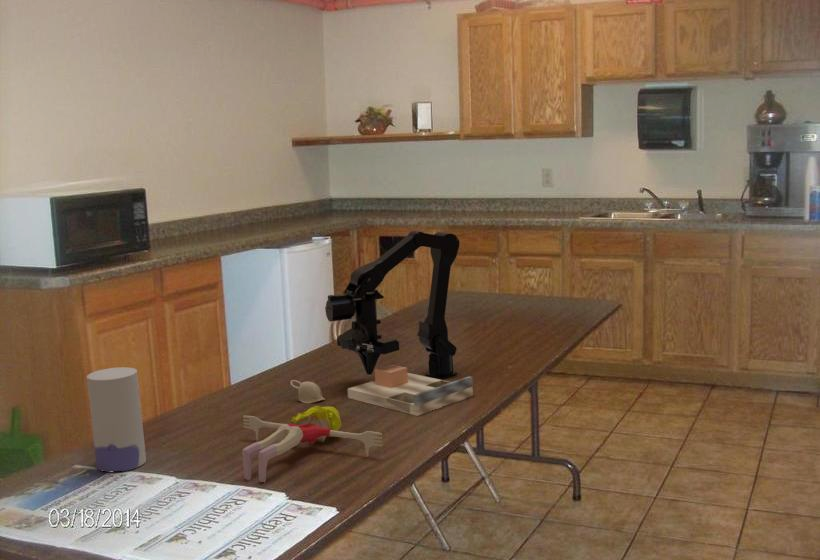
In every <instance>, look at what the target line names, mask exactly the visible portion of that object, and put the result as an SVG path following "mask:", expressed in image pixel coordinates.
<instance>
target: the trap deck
mask: <svg viewBox="0 0 820 560" xmlns="http://www.w3.org/2000/svg"><path fill="white" fill-rule="evenodd" d="M473 389H474V387H473V376H466V377H463V378H460V379H457V380H454V381H449V380H443V379H440V378H435V377H430V376H426V375H420V374H416V373H410V372H408V383H406V384H403V385H399V386H396V387H393V388H389V387H385V386H380V385H376V384H375V379H374V380H371V381H369V382H368V381H367V382H365V383H362V384H358V385H354V386H351V387H349V388H347V399H351V400H354V401H358V402H362V403H365V404H369V405H374V406H378V407H382V408H385V409H389V410H393V411H397V412H400V413H406V414H409V415H412V416H417V417H419V416H421V415H424V414H428V413H429V412H433V411H436V410H438V409H441V408H444V407H446V406H449V405H452V404H454V403H457V402H460V401H464V400H466V399H468V398H472V397H473V395H474V392H473ZM443 406H444V407H443ZM435 409H436V410H435ZM432 410H433V411H432Z"/></svg>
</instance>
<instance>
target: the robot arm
mask: <svg viewBox="0 0 820 560" xmlns="http://www.w3.org/2000/svg"><path fill="white" fill-rule="evenodd" d="M460 244H461V243H460V238H459V237H458V236H456V234H454V233H450V232H444V231H438V232H435V233H434V234H433V233H432V234H431V233H426V232H423V231H419V230H412V231H410V232H409V233H408V234H407V235H406V236H404V238H402V239H401V240H399V241H398V242H397V243H396V244H394V245H393V246H392V247H391V248H390V249H389V250H387V251H386V252H385V253H383V254H381V256H380V257H379V258H377V259H375V260H374V261H372V262H369V263H366V264H364V265H362V266H360V267H358V268H357V269H355V270H353V271H352V272H351V274H350V279H349V280H350V281H349V282H348V284H347V286H346V287H345V289H344V291H343V293H341V294H328V295H327V300H326V303H325V306H324V308H325V314H326V315H325V316H326V319H327V321H328V322H337V321H344V320H347V321H348V320H351V319H352V318H353V317H354V318H355V320H353V321H352V322H351V328H350V329H348V330H346V331H345V332H344V333H342V334H339V335H338V336H337V338H336V342H337V343H336V344H337V346H339V347H340V348H341V349H343V350H344V349H346V350H348V351H352V352H355V353H356V354H357V355H358V356H359V358H360V360H361V363H362V366H363V368H364V370H365V373H366V375H367V376H370V375H373V373H374V371H375V367H376V365H377V362H378V361H379V358H380V356H381V355H387V354H391V353H394V352H397V351H400V342H399V341H398V339H394V338H390V337H388V338H384V339H382V338H383V337H382V334H379V330H378V324H381V319H379V318H378V310H377V300H380V299H381V300H382V299H384V295H383V294H382V293H380V292H379V290H378V289H377V288H378V287H379V286H380V285H381V284H382V282H383V281H384V279H385V278H386V276H387V275H388V273H389V272H390V271H392V270H393V269H394V268H395V267H397V266H398V265H399V264H400V263H402V262H403V261H404V260H406V259H407V258H408V257H409V256H410V255H411V254H413V253H415V251H417V250H418V249H419V248H421V247H425V248H429V249H430V255H431V259H432V264H433V266H432V274H431V284H430V291H429V301H428V308H427V309H428V310H427V316H426V318H425V319H424V321H422V320H421V321H418V332H417V334H416V336H418V340H419V343H420V344H421V346H423V347H424V348H425V351H426V352H428V353H430V354H428V372H427V373H425V376H426V377H430V378H435V379H440V380H443V379H447V378H450V377H453V376H456V375H458V372H457V371H454V361H453V360H454V359H453V357H454V356H456V353H457V349H458V347H456V345H454V344H453V343H452V341H450V340H449V333H448V332H449V329H448V326H447V325H448V324H447V321H446V317H445V316H446V310H447V301H448V293H449V287H450V276H451V275H450V274H451V270H452V269H451V268H452V265H453V264H454V262H455V261H456V259H457V256H458V252H459V249H460V246H461V245H460Z"/></svg>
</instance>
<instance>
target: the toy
mask: <svg viewBox="0 0 820 560" xmlns="http://www.w3.org/2000/svg"><path fill="white" fill-rule="evenodd" d="M242 417H243V419H242V420H243V422H242V424H243V426H242V427H243V428H245V429H249V430H252V431H253V432H254V433H255V440H256V442H253V443H251V444H249V445H247V446H245V447H243V449H241V450H242V451H241V457H242V469H243V478H244V480H245V479H246V481H251V480H252V458H253V457H256V456H257V455H258V466H257V467H258V481H260V482H259V483H261V482H264V483H266V481H267V480H266V478H267V466H268V462H269V460H271V459H273V458H275V457H277V456H279V455H282V454H284V453H285V452H288V451H290V450H291V449H292V448H294V447H296V446H297V445H299V443H300V442H301V443H306V442H308V443H309V444H311V445H312V444H314V443H315V442H320V443H324V442H325V440H326V438H327V437H328V438H332V437H336V438H345V439H353V440H359V441H361V442H362V443H363V444H364V449H365V457H366V458H369V456H370V455H369V452H370V448H371V447H383V446H384V444H383V441H382V439H383V434H382V433H381V432H377V431H373V430H366V431H364V432H362V433H361V432H360V433H356V432H348V431H341V430H339V429H340V428H341V426H342V421H341V417H340V411H338V410H337V408H335V407H334V406H320V405H314V406H310V408H308V409H307V410H306V411H304V412H298V413H297V415H296V416H295V415H294V416H292V418H291V422H289V423H278V422H271V421H266V420H265V421H264V420H262V419H260V418H258V417H257V416H253V415H242ZM304 418H307V421H308V423H304V424H296V423H298V422H299V421H301V420H303V419H304ZM292 422H293V423H292ZM262 428H271V429H276V431H275V432H273V433H271V434H270V435H269V436H268V437H266V438H264V439H263V440H260V441H259V433H260V429H262ZM250 479H251V480H250Z"/></svg>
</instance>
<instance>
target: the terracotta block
mask: <svg viewBox="0 0 820 560" xmlns="http://www.w3.org/2000/svg"><path fill="white" fill-rule="evenodd" d="M408 373H409V372H408V367H405V366H400V365H396V364H387V365H384V366H381V367H378V368H374V380H375V384H376V385H380V386H385V387H389V388H393V387H396V386H399V385H403V384H406V383H408Z"/></svg>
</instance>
